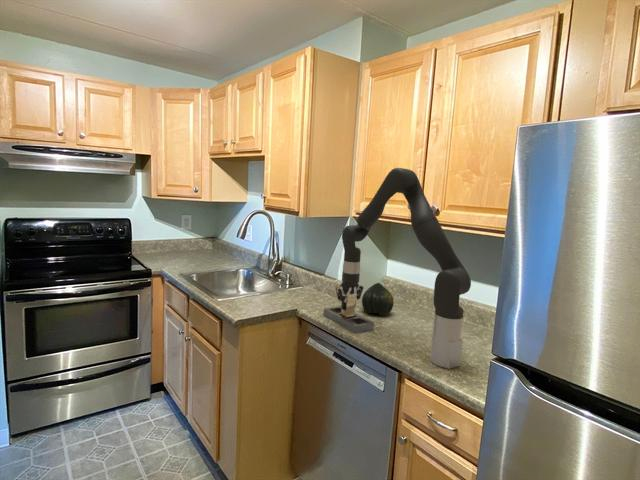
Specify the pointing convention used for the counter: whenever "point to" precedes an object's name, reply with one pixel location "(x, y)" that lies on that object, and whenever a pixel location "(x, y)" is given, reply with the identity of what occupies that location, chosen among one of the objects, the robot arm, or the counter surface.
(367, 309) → the squash
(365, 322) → the gray slotted tray
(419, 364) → the counter surface
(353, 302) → the square peg
